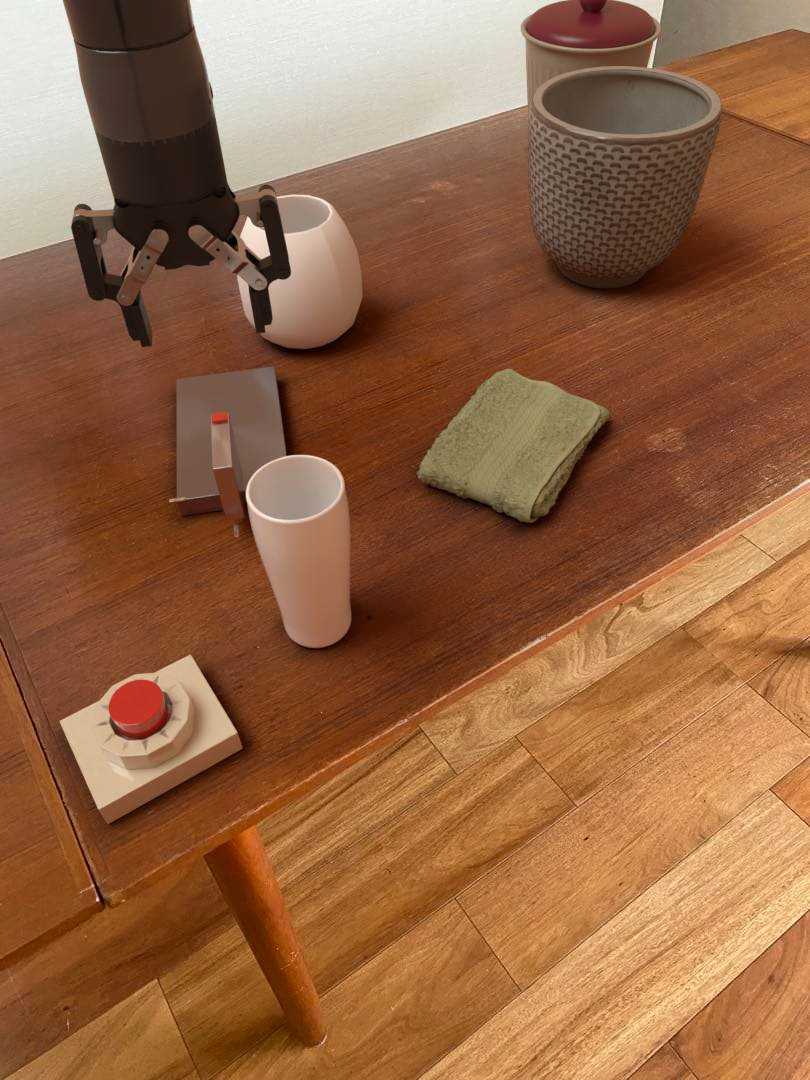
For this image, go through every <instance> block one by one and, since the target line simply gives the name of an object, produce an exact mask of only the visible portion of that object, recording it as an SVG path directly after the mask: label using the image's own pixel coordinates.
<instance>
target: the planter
mask: <svg viewBox="0 0 810 1080" xmlns="http://www.w3.org/2000/svg"><path fill="white" fill-rule="evenodd" d="M722 112H723V104H722V100H721V98H720V97H719V95H718V94H717V93H716V92H715V90H713V89H712V88H711V87H709V86H708V85H706V84H705V83H703V82H702V81H699V80H697V79H695V78H693V77H690V76H687V75H684V74H682V73H677V72H674V71H669V70H665V69H658V68H652V67H647V68H645V67H633V66H606V67H594V68H586V69H580V70H575V71H571V72H567V73H564V74H561V75H558V76H555V77H553V78H551V79H549V80H547V81H546V82H544V83H543V84H541V85H540V86H539V87H538V88H537V89H536V90H535V91H534V93H533V96H532V98H531V103H530V109H529V119H528V126H527V127H528V128H527V129H528V131H527V134H528V135H527V136H528V137H527V142H528V144H527V148H528V149H527V187H528V188H527V189H528V207H529V217H530V218H529V219H530V223H531V227H532V230H533V234H534V237H535V239H536V241H537V243H538V244H539V247H540V248H541V250H542V251H543V252H544V253H545V254H546V256H547V257H548V258H550V260H551V261H552V262H553V263H554V264H555V265H556V267H557V269H558V270H559V272H560V273H561V274H562V275H563V276H564V277H565V278H567V279H568V280H569V281H571V282H573V283H576V284H578V285H580V286H584V287H588V288H592V289H604V290H606V289H618V288H619V289H620V288H623V287H626V286H630V285H631V284H634V283H635V282H637V281H639V280H640V279H641V278H642V277H643V276H644V275H645V274H646V273H647V272H648V271H650V270H651V269H654V268H656V267H657V266H658V265H659V264H661V263H662V262H664V261H665V260H666V259H667V258H668V257H669V256H670V255H671V254H672V253H673V252H674V251H675V250H676V249H677V247H678V246H679V245H680V243H681V241H682V239H683V238H684V235H686V232H687V230H688V228H689V225H690V223H691V222H692V221H691V220H692V218H693V215H694V212H695V210H696V207H697V204H698V201H699V198H700V195H701V192H702V190H703V186H704V183H705V179H706V176H707V172H708V169H709V166H710V162H711V159H712V155H713V151H714V149H715V145H716V142H717V138H718V136H719V135H718V134H719V131H720V128H721V121H722Z"/></svg>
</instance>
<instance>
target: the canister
mask: <svg viewBox="0 0 810 1080" xmlns="http://www.w3.org/2000/svg"><path fill="white" fill-rule="evenodd" d="M520 32H521V35H522V37H523V38H525V42H524V43H525V69H526V70H525V71H526V97H527V118H528V120H529V109H530V103H531V98H532V96H533V93H534V91H535V90H536V89H537V88H538V87H539V86H540V85H541V84H543V83H544V82H546V81H547V80H549V79H551V78H553V77H555V76H558V75H561V74H564V73H567V72H571V71H575V70H580V69H586V68H594V67H606V66H633V67H645V68H648V67H649V66H648V65H649V62H650V57H651V54H652V50H653V45H654V42H655V41H656V40H657V39H658V38H659V37H660V36H661V33H662V25H661V23H660V22H659V21H658V19H656V18H655V17H653V16H652V15H651V14H650V13H649V12H648V11H647V10H645V9H643V8H641V7H640V6H637V5H635V4H632V3H628V2H625V1H620V0H560V1H556V2H553V3H549V4H547V5H544V6H542V7H540V8H538V9H537V10H535V12H533V13H532V14H530V15H528V16H527V17H525V18H524V19H523V20H522V22H521V24H520Z"/></svg>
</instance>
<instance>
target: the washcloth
mask: <svg viewBox="0 0 810 1080" xmlns="http://www.w3.org/2000/svg"><path fill="white" fill-rule="evenodd" d="M610 415H611V413H610V412H609V410H608V409H607V408H606V407H604V406H602V405H599V404H597V403H596V402H594V401H592V400H590V399H586V398H583V397H580V396H577V395H574V394H572V393H568V392H567V391H566V390H564V389H563V388H561V387H559V386H557V385H555V384H554V383H551V382H549V381H546V380H535V379H530V378H528V377H526V376H523V375H521V374H520V373H518V372H517V371H515V370H513V369H511V368H505V369H503V370H500V371H496V372H495V373H494V374H493V375H491V376H490V377H489V378H488V379H486V381H484V382H482V383H481V384H480V385H479V387H478V388H477V389H476V392H475V394H473V395H471V396H470V399H469V401H468V402H466V403H465V405H464V406H463V407H462V408H461V410H460V411H458V412H457V415H456V416H454V417H453V418H452V420H450V422H449V423H448V424H447V428H445V429H442V431H441V432H440V433H438V437H435V439H434V443H432V445H431V448H430V449H428V450H427V451H426V455H425V456H423V459H422V461H421V462H420V463H419V467H418V468H419V470H417V472H416V475H417V478H418V480H420V483H422V484H425V485H430V486H431V487H433V488H437V489H439V490H443V491H447V492H449V493H450V494H455V495H456V496H457V497H458V498H459V497H460V498H462V499H472V500H473V501H477V502H478V503H481V504H484V505H485V504H486V505H487V506H490V507H491V508H492V510H493V511H496V512H498V513H500V514H502V513H504V514H505V515H506V516H508V517H511V518H513V519H516V520H517V521H519V522H520V523H525V524H526V523H527V524H531V523H534V522H536V521H538V519H539V518H540V517H544V516H546V515H547V514H549V513H550V509H551V508H552V507H553V506H554V505H556V500H557V498H558V496H559V493H561V491H562V489H563V488H564V486H565V485H566V484H567V482H568V481H569V478H570V477H571V474H572V471H573V470H574V468H575V464H577V463H578V460H581V457H583V456H584V455H583V454H584V453H585V450H587V446H588V445H589V443H591V441H592V440H593V439H592V438H594V437H595V434H597V432H598V431H599V429H601V428H602V426H604V424H605V423H606V422H607V421H609V419H610Z"/></svg>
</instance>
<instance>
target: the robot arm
mask: <svg viewBox="0 0 810 1080" xmlns="http://www.w3.org/2000/svg"><path fill="white" fill-rule="evenodd" d="M62 4H63V7H64V11H65V14H66V18H67V22H68V25H69V28H70V32H71V36H72V38H73V43H74V48H75V52H76V53H75V54H76V60H77V67H78V73H79V78H80V83H81V87H82V91H83V95H84V97H85V102H86V105H87V109H88V112H89V116H90V119H91V124H92V127H93V130H94V132H95V138H96V140H97V144H98V147H99V151H100V154H101V158H102V161H103V165H104V169H105V172H106V176H107V179H108V182H109V183H108V184H109V187H110V190H111V193H112V194H111V195H112V198H113V202H114V205H113V208H112V209H92V207H91V206H89V205H88V204H86V203H78V204H76V206H75V207H74V210H73V215H72V220H71V225H70V229H71V233H72V237H73V240H74V245H75V248H76V252H77V253H76V254H77V257H78V260H79V265H80V267H81V272H82V275H83V279H84V282H85V287H86V291H87V294H88V296H89V298H90V299H92V300H93V301H96V302H101V301H103V300H111V301H113V302H116V303H117V304H118V305H119V306H120V309H121V310H120V311H121V313H122V316H123V319H124V323H125V327H126V328H127V332H128V335H129V337H130V338H131V340H132V341H134V342H136V341H137V342H138V341H139V343H140V346H141V348H148V347H149V348H150V347H152V346H153V330H152V325H151V321H150V318H149V315H148V311H147V307H146V304H145V301H144V297H143V294H142V291H141V289H142V287H143V285H145V284H146V283H147V281H148V280H149V277H150V275H151V273H152V272H153V269H154V268H155V265H156V266H159V267H162V268H164V271H171V270H177V269H180V268H184V267H185V266H194V267H205V266H210V265H211V262H213V261H215V260H216V261H217V262H218V263H220V264H221V265H222V266H223V267H224V268H225V269H226V270H228V271H229V272H230V273H231V274H233V275H235V274H236V276H237V275H239V276H240V277H241V278H242V279H243V280H244V281H245V282H247V283H248V287H249V295H250V301H251V306H252V312H253V317H254V323H255V329H256V330H255V329H254V330H255V333H256V334H258V335H260V334H259V333H266V332H265V325H271V323H272V319H273V317H272V309H271V303H270V296H269V290H268V287H269V285H270V284H271V283H272V282H273V281H275V280H277V279H280V280H285V279H287V278H289V277H290V275H291V268H290V263H289V256H288V251H287V246H286V241H285V236H284V231H283V226H282V222H281V217H280V212H279V207H278V202H277V197H278V196H277V193H276V190H275V188H274V186H272V185H271V184H263V185H261V186H260V187H259V188H258V190H257V192H252V193H247V194H241V195H240V194H239V195H236V194H235V193H234V192H233V190H232V189H231V187H230V185H229V182H228V179H227V173H226V172H227V171H226V166H225V161H224V155H223V149H222V145H221V140H220V135H219V129H218V123H217V119H216V112H215V106H214V92H213V88H212V84H211V82H210V80H209V73H208V69H207V65H206V61H205V58H204V54H203V52H202V49H201V45H200V42H199V38H198V34H197V31H196V27H195V26H196V25H195V20H194V16H193V10H192V4H191V0H62ZM240 215H241V216H242V215H243V216H246V217H249V218H250V220H251V222H252V224H253V225H254V226H256V227H264V229H265V234H266V238H267V243H268V247H269V252H270V256H267V257H265V258H263V259H260V258H259V257H258V256H257V255H256V254H255V253H254V252H252V251H251V250H250V249H249V248H248V247H247V246H246V244H245V243H244V241H243V240H242V239H241V238H240V235H238V234H237V232H236V231H234V229H235V227H236V225H237V223H238V222H239V219H240ZM110 230H115V231H116V233H117V234H119V235H120V236H121V237H122V239H124V240H125V241H126V242H127V243H129V244H130V245H131V246H132V248H131V250H130V253H129V256H128V259H127V261H126V263H125V265H124V267H123V268H122V270H121V273H120V275H117V274H112V273H108V270H107V266H106V261H105V257H104V253H103V249H102V246H103V245H104V244H106V243H107V240H108V233H109V231H110Z"/></svg>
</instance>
